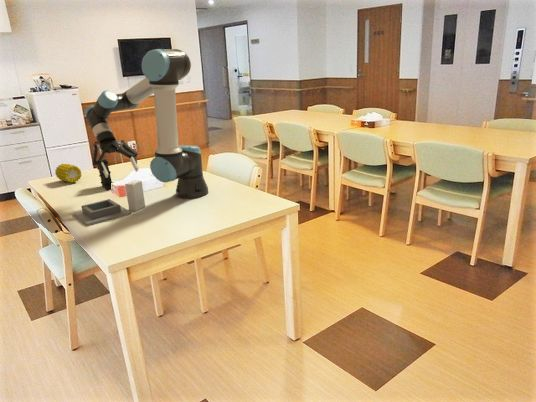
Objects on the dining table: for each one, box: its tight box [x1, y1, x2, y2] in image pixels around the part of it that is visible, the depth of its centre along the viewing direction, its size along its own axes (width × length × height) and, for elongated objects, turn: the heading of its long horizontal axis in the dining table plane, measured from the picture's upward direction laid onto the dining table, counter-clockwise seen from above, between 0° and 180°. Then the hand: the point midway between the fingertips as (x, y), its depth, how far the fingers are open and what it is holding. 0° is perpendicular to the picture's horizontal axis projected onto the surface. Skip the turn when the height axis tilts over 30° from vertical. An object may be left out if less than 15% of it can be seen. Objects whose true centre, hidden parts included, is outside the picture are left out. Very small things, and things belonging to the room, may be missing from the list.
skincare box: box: [124, 179, 146, 212], centre depth 178 cm, size 6×4×12 cm
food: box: [54, 163, 82, 183], centre depth 227 cm, size 15×12×10 cm
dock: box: [72, 199, 132, 227], centre depth 174 cm, size 18×18×4 cm
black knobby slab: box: [96, 158, 114, 191], centre depth 212 cm, size 4×13×15 cm, turn 33°
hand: (122, 172), depth 183 cm, fingers open, 13 cm apart
